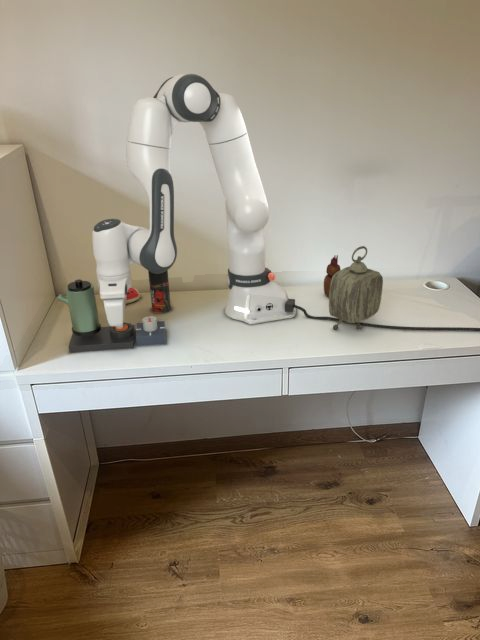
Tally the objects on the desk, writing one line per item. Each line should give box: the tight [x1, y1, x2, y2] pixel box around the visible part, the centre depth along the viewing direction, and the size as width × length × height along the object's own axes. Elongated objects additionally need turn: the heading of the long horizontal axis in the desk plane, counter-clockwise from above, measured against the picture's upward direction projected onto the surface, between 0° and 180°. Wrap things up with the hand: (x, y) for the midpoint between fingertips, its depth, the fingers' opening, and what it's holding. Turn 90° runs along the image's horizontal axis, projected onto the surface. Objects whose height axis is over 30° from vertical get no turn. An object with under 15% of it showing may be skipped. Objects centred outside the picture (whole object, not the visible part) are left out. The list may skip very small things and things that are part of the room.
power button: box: [115, 324, 128, 331], centre depth 154 cm, size 4×4×2 cm
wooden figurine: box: [323, 254, 341, 298], centre depth 181 cm, size 7×6×15 cm
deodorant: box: [147, 269, 172, 314], centre depth 171 cm, size 6×6×15 cm
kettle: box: [56, 279, 102, 336], centre depth 150 cm, size 10×10×15 cm
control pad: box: [135, 320, 167, 347], centre depth 156 cm, size 8×9×3 cm
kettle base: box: [68, 322, 135, 354], centre depth 154 cm, size 17×11×4 cm, turn 100°
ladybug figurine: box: [126, 287, 141, 305], centre depth 180 cm, size 7×10×4 cm
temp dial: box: [141, 315, 158, 332], centre depth 155 cm, size 4×4×3 cm
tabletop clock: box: [328, 245, 384, 331], centre depth 158 cm, size 14×9×25 cm, turn 135°
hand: (120, 326), depth 154 cm, fingers closed, pressing on power button
